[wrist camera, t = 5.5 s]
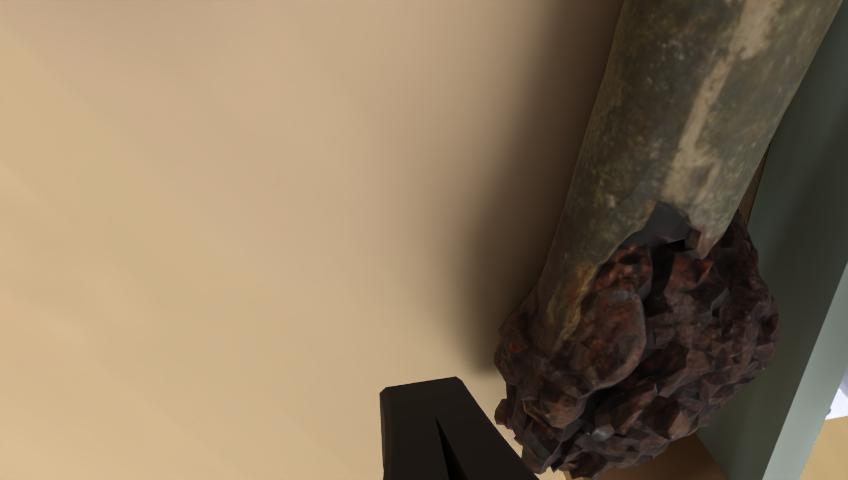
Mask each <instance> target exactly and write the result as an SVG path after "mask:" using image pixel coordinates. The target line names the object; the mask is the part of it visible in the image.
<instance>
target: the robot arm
mask: <svg viewBox="0 0 848 480" xmlns="http://www.w3.org/2000/svg"><path fill="white" fill-rule="evenodd" d="M380 413H381V434H382V455H383V468H384V477H383V480H539V479H538V477H537V476H536V475H535V474H534V473H533V472H532V471H531V469H530V468H529V467H528V466H527V465H526V464H525V463H524V461H523V460H522V459H521V458H520V457H519V456H518V454H517V453H516V452H515V451H514V450H513V449H512V447H511V446H510V445H509V444H508V443H507V441H506V440H505V439H504V438H503V436H502V435H501V434H500V433H499V431H498V430H497V429H496V427H495V426H494V425H493V424H492V422H491V421H490V420H489V418H488V417H487V416H486V414H485V413H484V412H483V410H482V409H481V408H480V406H479V405H478V404H477V402H476V401H475V399H474V398H473V396H472V395H471V394H470V392H469V391H468V389H467V388H466V386H465V385H464V383H463V382H462V380H460V379H459V378H457V377H449V378H443V379H436V380H430V381H424V382H417V383H411V384H404V385H398V386H392V387H386V388H385V389H384V390H383V391H382V392H380ZM842 416H848V368H847V370H846V372H845V375H844V377H843V379H842V382H841V384H840V386H839V389H838V391H837V393H836V395H835V398H834V400H833V402H832V405H831V407H830V409H829V412H828V414H827V416H826V418H825V420H827V419H832V418H837V417H842Z"/></svg>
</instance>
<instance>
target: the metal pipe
mask: <svg viewBox="0 0 848 480" xmlns="http://www.w3.org/2000/svg"><path fill="white" fill-rule="evenodd" d="M842 1H843V0H624V1H623V5H622V8H621V12H620V15H619V18H618V22H617V26H616V30H615V34H614V38H613V42H612V46H611V50H610V54H609V58H608V62H607V66H606V70H605V73H604V77H603V80H602V83H601V86H600V89H599V92H598V95H597V98H596V101H595V104H594V108H593V111H592V114H591V117H590V120H589V123H588V126H587V129H586V132H585V135H584V139H583V142H582V145H581V149H580V152H579V156H578V159H577V163H576V166H575V170H574V173H573V177H572V180H571V183H570V187H569V190H568V194H567V197H566V201H565V204H564V207H563V210H562V213H561V217H560V220H559V223H558V226H557V229H556V232H555V236H554V239H553V242H552V245H551V248H550V251H549V254H548V257H547V260H546V263H545V266H544V269H543V272H542V275H541V278H540V279H539V280H538V281H537V283H536V285H535V287H534V288H533V289H532V290H531V291H530V292H529V293H528V294H527V296H526V297H525V298H524V300H523V301H522V303H521V304H520V305H519V306H518V307H517V309H516V310H515V311H514V312H513V313H512V314H511V316H510V317H509V318H508V319H507V320H506V321H505V322H504V324H503V325H502V326H501V328H500V329H499V332H500V336H501V339H500V341H499V344H498V346H497V349H496V352H495V355H494V364H495V365H496V367H497V369H498V370H499V372H500V373H501V375H502V376H503V378H504V380H505V382H506V391H507V399H502V400H501V402H500V403H499V405H498V407H497V408H496V411H495V416H494V418H495V421H496V424H499V425H505V426H506V428H507V429H511V430H513V431H514V433H515V435H516V436H515V438H514V439H515V440H516V441H517V442H518V443H519V444H520V445H522V446H523V450H522V458H521V459H522V460H523V461H524V463H525V464H526V465H527V466H528V467H529V468H530V469H531V471H532V472H533V473H536V474H542V473H544V472H546V469H547V468H548V467H549V466H551V469H552V471H553V473H554V472H555V471H556V470H557V469H559V470H561V471H569V473H570V476H571V478H572V480H573V479H576V478H580V477H584V478H590V479H591V480H595V479H597V478H598V477H599V476H600V475H602V474H603V473H605V472H606V471H607V470H609V469H610V468H612V467H615V468H617V469H621V468H626V467H633V466H639V465H641V464H643V463H646V462H648V461H650V460H652V459H653V458H655V457H656V456H657V455H658V454H660V453H661V452H663V451H665V450H666V448H667V447H668V445H669V443H670V442H671V441H675V440H677V439H679V438H681V437H684V436H688V435H690V434H692V433H693V432H695V431H696V430H697V429H698V427H705V426H709V423H710V419H711V415H712V413H713V412H714V411H715V410H717V409H721V408H722V407H723V405H724V404H725V403H726V402H728V400H730V399H731V398H733V396H734V393H736V392H738V391H740V390H741V389H742V388H743V387H744V386H745V385H746V384H748V383H749V382H750V381H752V380H753V379H755V377H754V375H756V374H757V373H759V372H761V371H763V370H764V369H765V368H766V367H767V366H768V365H769V363H770V362H771V361H772V359H773V358H774V357H775V356H776V353H775V349H774V348H775V346H776V345H777V343H778V339H779V313H778V308H777V302H776V299H775V298H774V297H773V296H772V295H771V294H770V292H769V289H768V286H767V284H766V283H765V282H764V281H763V279H762V278H761V277H760V275H759V270H758V265H759V259H758V251H757V249H756V248H755V247H754V245H753V244H752V241H751V238H750V235H749V233H748V231H747V228H746V225H745V222H744V220H743V218H742V216H741V214H740V212H739V210H738V206H739V204H740V202H741V200H742V198H743V196H744V194H745V192H746V190H747V188H748V186H749V184H750V182H751V180H752V178H753V176H754V174H755V172H756V169H757V167H758V165H759V163H760V161H761V159H762V157H763V155H764V153H765V151H766V149H767V147H768V145H769V143H770V141H771V139H772V137H773V135H774V133H775V131H776V129H777V127H778V125H779V123H780V121H781V119H782V117H783V114H784V112H785V110H786V109H787V107H788V105H789V104H790V102H791V100H792V99H793V97H794V95H795V93H796V91H797V89H798V87H799V85H800V83H801V81H802V79H803V77H804V76H805V74H806V72H807V70H808V68H809V66H810V64H811V62H812V60H813V58H814V56H815V54H816V52H817V50H818V48H819V46H820V44H821V42H822V40H823V38H824V36H825V35H826V33H827V31H828V29H829V27H830V25H831V23H832V21H833V19H834V17H835V15H836V13H837V11H838V9H839V7H840V5H841V3H842Z"/></svg>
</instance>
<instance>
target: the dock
mask: <svg viewBox="0 0 848 480" xmlns="http://www.w3.org/2000/svg"><path fill="white" fill-rule="evenodd" d="M747 231H748V233H749V235H750V238H751V241H752V244H753V245H754V247H755V248H756V249H757V251H758V259H759V265H758V270H759V275H760V277H761V278H762V279H763V281H764V282H765V283H766V284H767V286H768V289H769V292H770V294H771V295H772V296H773V297H774V298H775V299H776V302H777V308H778V313H779V339H778V343H777V345H776V346H775V348H774V349H775V353H776V356H775V357H774V358H773V359H772V361H771V362H770V363H769V365H768V366H767V367H766V368H765V369H764V370H763V371H761V372H759V373H757V374H756V375H754V377H755V379H753V380H752V381H750V382H749V383H748V384H746V385H745V386H744V387H743V388H742V389H741V390H740V391H738V392H736V393H734V396H733V398H731V399H730V400H728V402H726V403H725V404H724V405H723V407H722V408H721V409H717V410H715V411H714V412H713V413H712V415H711V419H710V423H709V426H705V427H698V429H697V430H696V431H695V432H693V433H692V434H690V435H688V436H684V437H681V438H679V439H677V440H675V441H671V442H670V443H669V445H668V447H667V448H666V450H665V451H663V452H661V453H660V454H658V455H657V456H656V457H655V458H653V459H652V460H650V461H648V462H646V463H643V464H641V465H639V466H633V467H626V468H621V469H617V468H615V467H612V468H610V469H609V470H607V471H606V472H605V473H603V474H602V475H600V476H599V477H598V478H597V479H595V480H799V478H800V476H801V474H802V471H803V469H804V467H805V465H806V462H807V460H808V458H809V455H810V453H811V451H812V448H813V446H814V444H815V442H816V439H817V437H818V435H819V432H820V430H821V428H822V425H823V423H824V421H825V418H826V416H827V414H828V412H829V409H830V407H831V405H832V402H833V400H834V398H835V395H836V393H837V391H838V389H839V386H840V384H841V382H842V379H843V377H844V375H845V372H846V370H847V368H848V0H843V1H842V3H841V5H840V7H839V9H838V11H837V13H836V15H835V17H834V19H833V21H832V23H831V25H830V27H829V29H828V31H827V33H826V35H825V36H824V38H823V40H822V42H821V44H820V46H819V48H818V50H817V52H816V54H815V56H814V58H813V60H812V62H811V64H810V66H809V68H808V70H807V72H806V74H805V76H804V77H803V79H802V81H801V83H800V85H799V87H798V89H797V91H796V93H795V95H794V97H793V99H792V100H791V102H790V104H789V105H788V107H787V109H786V110H785V112H784V114H783V117H782V119H781V121H780V123H779V125H778V127H777V129H776V131H775V133H774V135H773V138H772V141H771V145H770V148H769V152H768V155H767V159H766V162H765V166H764V169H763V173H762V176H761V180H760V183H759V186H758V190H757V193H756V197H755V200H754V204H753V207H752V211H751V214H750V218H749V221H748V225H747ZM564 475H565V477H566V480H572V478H571V476H570V473H569V471H564ZM573 480H591V479H590V478H584V477H580V478H576V479H573Z"/></svg>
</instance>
